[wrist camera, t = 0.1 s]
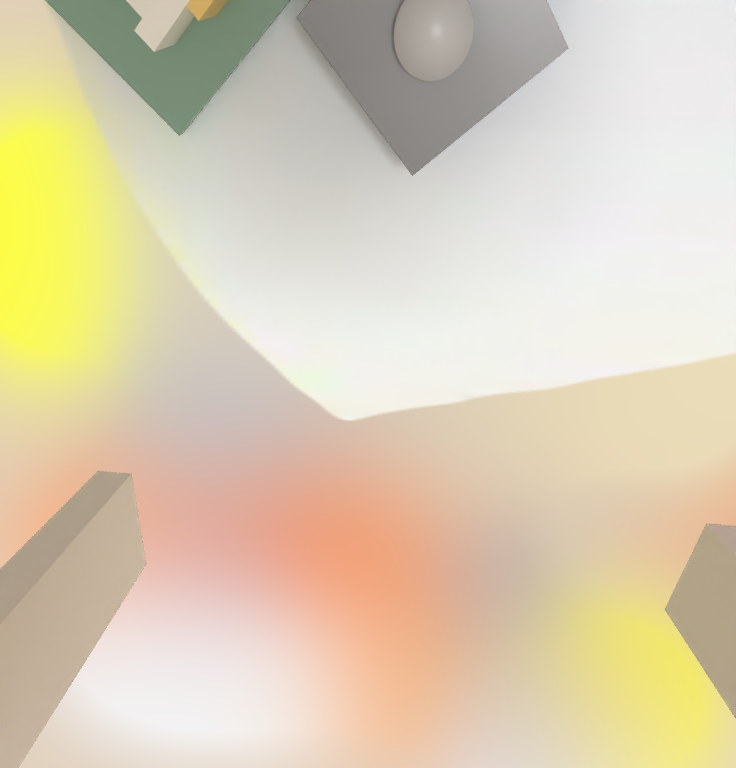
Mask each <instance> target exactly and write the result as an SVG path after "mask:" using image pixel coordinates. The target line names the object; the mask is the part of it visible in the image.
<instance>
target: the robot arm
mask: <svg viewBox="0 0 736 768" xmlns="http://www.w3.org/2000/svg"><path fill="white" fill-rule="evenodd" d="M145 566H146V560H145V554H144V548H143V541H142V535H141V529H140V523H139V517H138V510H137V504H136V498H135V492H134V486H133V479H132V474H128V473H116V472H105V471H98V472H97V473H96V474H95V475H94V476H93V477H92V478H91V479H90V480H89V481H88V482H87V483H86V484H85V485H84V486H83V487H82V488H81V489H80V490H79V491H78V492H77V493H76V494H75V495H74V496H73V497H72V498H71V499H70V500H69V501H68V502H67V503H66V504H65V505H64V506H63V507H62V508H61V509H60V510H59V511H58V512H57V513H56V514H55V515H54V516H53V517H52V518H51V519H50V520H49V521H48V522H47V523H46V524H45V525H44V526H43V527H42V528H41V529H40V530H39V531H38V532H37V533H36V534H35V535H34V536H33V537H32V538H31V539H30V540H29V541H28V542H27V543H26V544H25V545H24V546H23V547H22V548H21V549H20V550H19V551H18V552H17V553H16V554H15V555H14V556H13V557H12V558H11V559H10V560H9V561H8V562H7V563H6V564H5V565H4V566H3V567H2V568H1V569H0V768H19V766H20V765H21V763H22V762H23V760H24V758H25V757H26V755H27V754H28V752H29V750H30V749H31V747H32V746H33V744H34V742H35V741H36V739H37V738H38V736H39V734H40V733H41V731H42V730H43V728H44V726H45V725H46V723H47V721H48V720H49V718H50V717H51V715H52V714H53V712H54V710H55V709H56V707H57V706H58V704H59V703H60V701H61V699H62V698H63V696H64V695H65V693H66V691H67V690H68V688H69V687H70V685H71V683H72V682H73V680H74V678H75V677H76V675H77V674H78V672H79V671H80V669H81V668H82V666H83V664H84V663H85V661H86V660H87V658H88V656H89V655H90V653H91V652H92V650H93V648H94V647H95V645H96V644H97V642H98V640H99V639H100V637H101V636H102V634H103V632H104V631H105V629H106V628H107V626H108V624H109V623H110V621H111V620H112V618H113V616H114V615H115V613H116V612H117V610H118V609H119V607H120V605H121V604H122V602H123V601H124V599H125V597H126V596H127V594H128V593H129V591H130V589H131V588H132V586H133V585H134V583H135V581H136V580H137V578H138V577H139V575H140V573H141V572H142V570H143V569H144V567H145ZM665 611H666V612H667V614H668V615H669V617H670V618H671V620H672V621H673V623H674V624H675V626H676V627H677V629H678V631H679V632H680V634H681V635H682V637H683V638H684V640H685V641H686V643H687V644H688V646H689V648H690V649H691V651H692V652H693V654H694V655H695V656H696V658H697V660H698V661H699V663H700V664H701V666H702V667H703V669H704V671H705V672H706V674H707V675H708V677H709V678H710V680H711V681H712V683H713V684H714V686H715V687H716V689H717V691H718V692H719V694H720V695H721V697H722V698H723V700H724V701H725V703H726V704H727V706H728V707H729V709H730V710H731V712H732V714H733V715H734V717H735V718H736V526H729V525H718V524H706V525H705V527H704V529H703V531H702V534H701V535H700V538H699V540H698V542H697V544H696V546H695V548H694V550H693V552H692V554H691V556H690V558H689V560H688V562H687V564H686V566H685V569H684V571H683V573H682V575H681V577H680V579H679V581H678V583H677V585H676V587H675V589H674V591H673V593H672V595H671V597H670V600H669V602H668V604H667V606H666V608H665Z"/></svg>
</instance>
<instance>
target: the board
mask: <svg viewBox="0 0 736 768" xmlns="http://www.w3.org/2000/svg"><path fill="white" fill-rule="evenodd" d="M46 1H47V2H48V3H49V4H50V6H51V7H52V8H53V9H54V10H55V11H56V12H57V13H58V14H59V15H60V16H61V17H62V18H63V19H64V20H65V21H66V22H67V23H68V24H69V25H70V26H71V27H72V28H73V29H74V30H75V31H76V32H77V33H78V34H79V35H80V36H81V37H82V38H83V39H84V40H85V41H86V42H87V43H88V44H89V45H90V46H91V47H92V48H93V49H94V50H95V51H96V52H97V53H98V54H99V55H100V56H101V57H102V58H103V59H104V60H105V61H106V62H107V63H108V64H109V65H110V66H111V67H112V68H113V69H114V70H115V71H116V72H117V73H118V74H119V75H120V76H121V77H122V78H123V79H124V80H125V81H126V82H127V83H128V84H129V85H130V86H131V87H132V88H133V89H134V90H135V91H136V92H137V93H138V94H139V95H140V96H141V97H142V98H143V99H144V100H145V101H146V102H147V103H148V104H149V105H150V106H151V107H152V108H153V109H154V111H155V112H156V113H157V114H158V115H159V116H160V117H161V118H162V119H163V120H164V121H165V122H166V123H167V124H168V125H169V126H170V127H171V128H172V129H173V130H174V131H175V132H176V133H177V134H178V135H179V136H180V135H181V134H182V133H183V132H184V131H185V130H186V128H187V127H188V126H189V125H190V123H191V122H192V121H193V120H194V119H195V117H196V116H197V115H198V114H199V112H200V111H201V110H202V109H203V107H204V106H205V105H206V104H207V102H208V101H209V100H210V99H211V98H212V96H213V95H214V94H215V93H216V91H217V90H218V89H219V88H220V86H221V85H222V84H223V83H224V81H225V80H226V79H227V78H228V77H229V75H230V74H231V73H232V72H233V70H234V69H235V68H236V67H237V65H238V64H239V63H240V62H241V60H242V59H243V58H244V57H245V56H246V54H247V53H248V52H249V51H250V49H251V48H252V47H253V46H254V44H255V43H256V42H257V41H258V39H259V38H260V37H261V36H262V35H263V33H264V32H265V31H266V30H267V28H268V27H269V26H270V25H271V23H272V22H273V21H274V20H275V18H276V17H277V16H278V15H279V14H280V12H281V11H282V10H283V9H284V7H285V6H286V5H287V4H288V2H289V1H290V0H46Z"/></svg>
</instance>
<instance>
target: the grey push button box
mask: <svg viewBox="0 0 736 768" xmlns="http://www.w3.org/2000/svg"><path fill="white" fill-rule="evenodd" d="M297 20H298V21H299V22H300V24H301V25H302V26H303V28H304V29H305V30H306V32H307V33H308V34H309V36H310V37H311V39H312V40H313V41H314V43H315V44H316V45H317V47H318V48H319V49H320V51H321V52H322V54H323V55H324V56H325V58H326V59H327V60H328V62H329V63H330V64H331V66H332V67H333V68H334V70H335V71H336V73H337V74H338V75H339V77H340V78H341V79H342V81H343V82H344V83H345V85H346V86H347V88H348V89H349V90H350V92H351V93H352V94H353V96H354V97H355V98H356V100H357V101H358V102H359V104H360V105H361V107H362V108H363V109H364V111H365V112H366V113H367V115H368V116H369V117H370V119H371V120H372V122H373V123H374V124H375V126H376V127H377V128H378V130H379V131H380V132H381V134H382V135H383V136H384V138H385V139H386V141H387V142H388V143H389V145H390V146H391V147H392V149H393V150H394V151H395V153H396V154H397V156H398V157H399V158H400V160H401V161H402V162H403V164H404V165H405V166H406V168H407V169H408V170H409V172H410V173H411V175H412V176H413V175H414V174H415V173H416V172H418V171H419V170H420V169H421V168H422V167H424V166H425V165H426V164H427V163H429V162H430V161H431V160H432V159H434V158H435V157H436V156H437V155H438V154H440V153H441V152H442V151H443V150H445V149H446V148H447V147H448V146H449V145H451V144H452V143H453V142H454V141H456V140H457V139H458V138H459V137H460V136H462V135H463V134H464V133H465V132H467V131H468V130H469V129H470V128H472V127H473V126H474V125H475V124H476V123H478V122H479V121H480V120H481V119H483V118H484V117H485V116H486V115H487V114H489V113H490V112H491V111H492V110H494V109H495V108H496V107H497V106H498V105H500V104H501V103H502V102H503V101H505V100H506V99H507V98H508V97H510V96H511V95H512V94H513V93H514V92H516V91H517V90H518V89H519V88H521V87H522V86H523V85H524V84H525V83H527V82H528V81H529V80H530V79H532V78H533V77H534V76H535V75H536V74H538V73H539V72H540V71H541V70H543V69H544V68H545V67H546V66H548V65H549V64H550V63H551V62H552V61H554V60H555V59H556V58H557V57H559V56H560V55H561V54H562V53H563V52H565V51H566V50H567V49H568V46H567V44H566V42H565V40H564V37H563V35H562V33H561V31H560V29H559V26H558V24H557V22H556V20H555V18H554V15H553V13H552V11H551V9H550V7H549V4H548V2H547V0H311V1H310V2H309V3H308V4H307V6H306V7H305V8H304V9H303V10H302V12H301V13H300V14H299V15H298V16H297Z"/></svg>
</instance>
